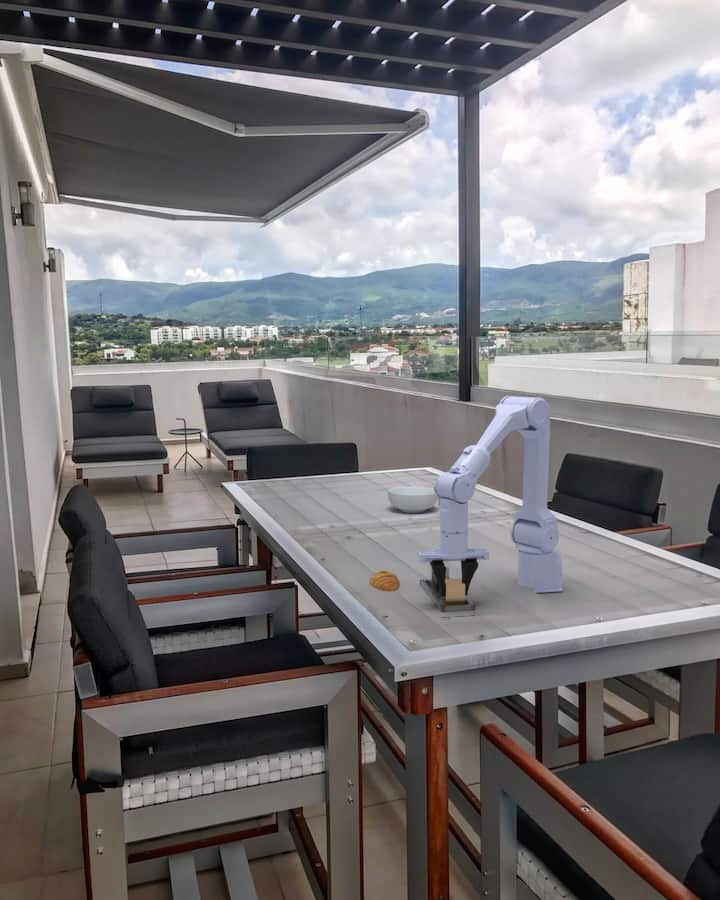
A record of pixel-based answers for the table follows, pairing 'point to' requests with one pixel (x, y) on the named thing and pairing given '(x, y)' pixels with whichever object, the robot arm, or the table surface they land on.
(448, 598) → the wooden block with cap
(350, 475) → the table surface
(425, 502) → the cereal bowl
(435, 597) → the tray
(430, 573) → the steel block
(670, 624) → the table surface
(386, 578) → the pastry
